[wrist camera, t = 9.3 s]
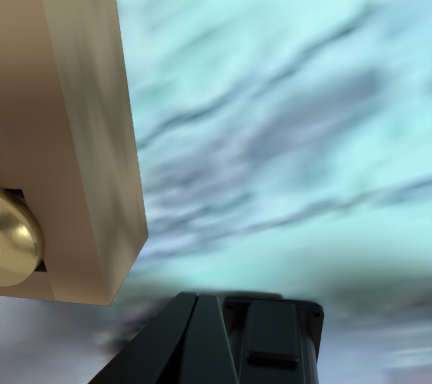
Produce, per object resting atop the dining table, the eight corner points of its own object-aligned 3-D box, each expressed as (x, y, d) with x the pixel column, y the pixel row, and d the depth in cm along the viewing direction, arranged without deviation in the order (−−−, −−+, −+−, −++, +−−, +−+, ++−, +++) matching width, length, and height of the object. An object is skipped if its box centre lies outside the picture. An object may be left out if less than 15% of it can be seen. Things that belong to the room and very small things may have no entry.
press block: (148, 236, 22) (109, 305, 17) (6, 228, 24) (-70, 289, 19) (93, -166, 14) (-19, -275, 9) (-122, -141, 15) (-330, -222, 10)
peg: (106, 219, 22) (47, 291, 16) (29, 215, 23) (-53, 282, 17) (90, 138, 19) (15, 189, 14) (5, 136, 20) (-99, 184, 15)
